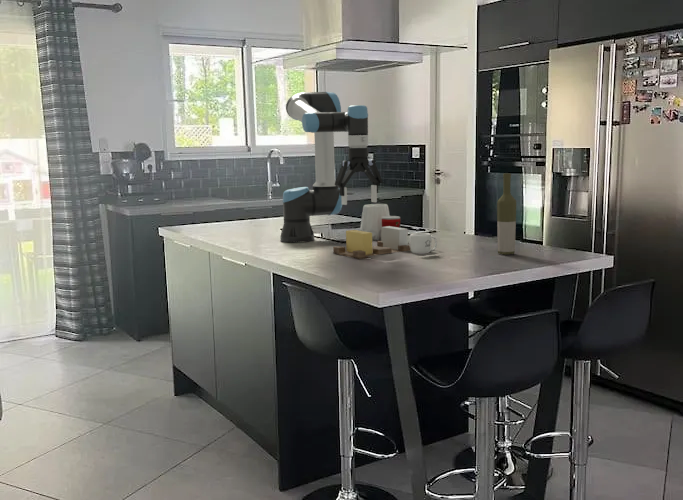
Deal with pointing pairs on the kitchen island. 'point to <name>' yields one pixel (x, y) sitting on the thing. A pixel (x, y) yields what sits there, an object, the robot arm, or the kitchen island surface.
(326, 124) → the robot arm
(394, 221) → the canned food
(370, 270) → the kitchen island surface
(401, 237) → the grey bar
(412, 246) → the mug
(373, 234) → the vase
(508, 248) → the bottle
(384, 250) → the comb rack
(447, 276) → the kitchen island surface
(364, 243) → the ochre bar
